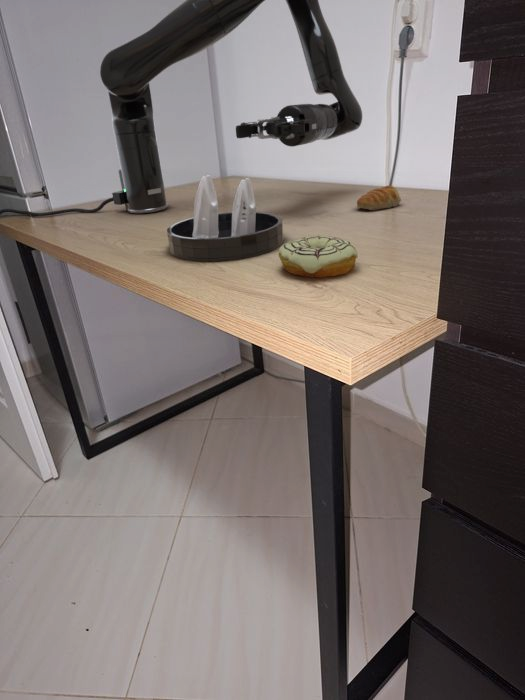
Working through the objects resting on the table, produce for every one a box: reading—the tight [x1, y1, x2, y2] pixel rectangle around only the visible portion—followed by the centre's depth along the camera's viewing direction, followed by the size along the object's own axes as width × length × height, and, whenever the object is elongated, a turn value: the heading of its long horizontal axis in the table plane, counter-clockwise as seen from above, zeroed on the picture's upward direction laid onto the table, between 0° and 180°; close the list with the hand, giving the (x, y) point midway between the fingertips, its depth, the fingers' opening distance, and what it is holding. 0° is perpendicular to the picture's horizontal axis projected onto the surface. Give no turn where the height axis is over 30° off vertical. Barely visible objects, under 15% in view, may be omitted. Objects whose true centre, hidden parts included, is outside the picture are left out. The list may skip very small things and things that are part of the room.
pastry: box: [356, 185, 402, 211], centre depth 103 cm, size 9×7×4 cm
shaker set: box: [192, 174, 257, 238], centre depth 83 cm, size 12×4×11 cm, turn 113°
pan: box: [166, 211, 284, 262], centre depth 85 cm, size 19×19×4 cm
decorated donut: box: [278, 235, 359, 279], centre depth 69 cm, size 10×11×4 cm
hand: (256, 131), depth 90 cm, fingers open, 8 cm apart
